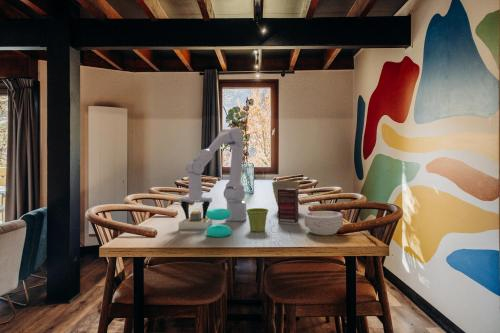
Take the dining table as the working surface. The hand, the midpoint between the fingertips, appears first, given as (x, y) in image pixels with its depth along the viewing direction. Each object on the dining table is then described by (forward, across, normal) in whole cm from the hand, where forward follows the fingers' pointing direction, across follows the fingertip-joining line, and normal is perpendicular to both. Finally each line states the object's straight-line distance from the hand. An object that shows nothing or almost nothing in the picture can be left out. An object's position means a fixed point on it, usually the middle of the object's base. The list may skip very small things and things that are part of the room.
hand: (195, 218), depth 156 cm
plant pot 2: (+4, +40, +40) cm, 57 cm away
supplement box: (+4, +41, +9) cm, 42 cm away
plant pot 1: (+4, +28, -6) cm, 29 cm away
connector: (+3, 0, 0) cm, 3 cm away
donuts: (+4, +13, -14) cm, 19 cm away
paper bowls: (+4, +55, -9) cm, 56 cm away
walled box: (+4, 0, 0) cm, 4 cm away
